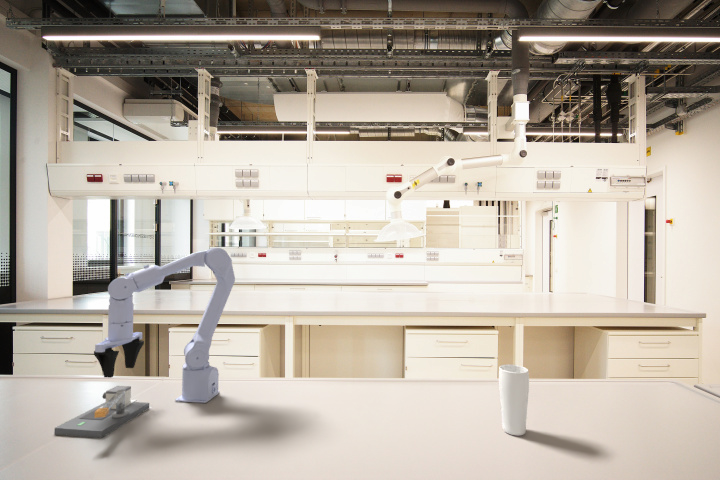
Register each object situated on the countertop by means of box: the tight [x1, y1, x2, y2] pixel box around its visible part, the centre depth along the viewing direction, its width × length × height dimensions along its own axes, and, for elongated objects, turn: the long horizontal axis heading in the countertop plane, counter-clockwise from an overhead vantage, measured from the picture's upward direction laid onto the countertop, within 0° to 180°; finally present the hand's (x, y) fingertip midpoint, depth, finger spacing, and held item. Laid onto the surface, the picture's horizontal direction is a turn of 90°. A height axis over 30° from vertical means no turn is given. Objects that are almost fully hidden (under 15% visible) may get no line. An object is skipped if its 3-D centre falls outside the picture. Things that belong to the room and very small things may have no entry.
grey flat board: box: [53, 399, 150, 439], centre depth 94 cm, size 12×17×2 cm
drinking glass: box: [498, 364, 530, 437], centre depth 89 cm, size 7×7×15 cm
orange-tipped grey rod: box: [95, 389, 125, 418], centre depth 87 cm, size 14×2×5 cm, turn 15°
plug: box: [102, 385, 132, 407], centre depth 100 cm, size 6×4×4 cm, turn 83°
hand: (119, 372), depth 100 cm, fingers open, 7 cm apart
